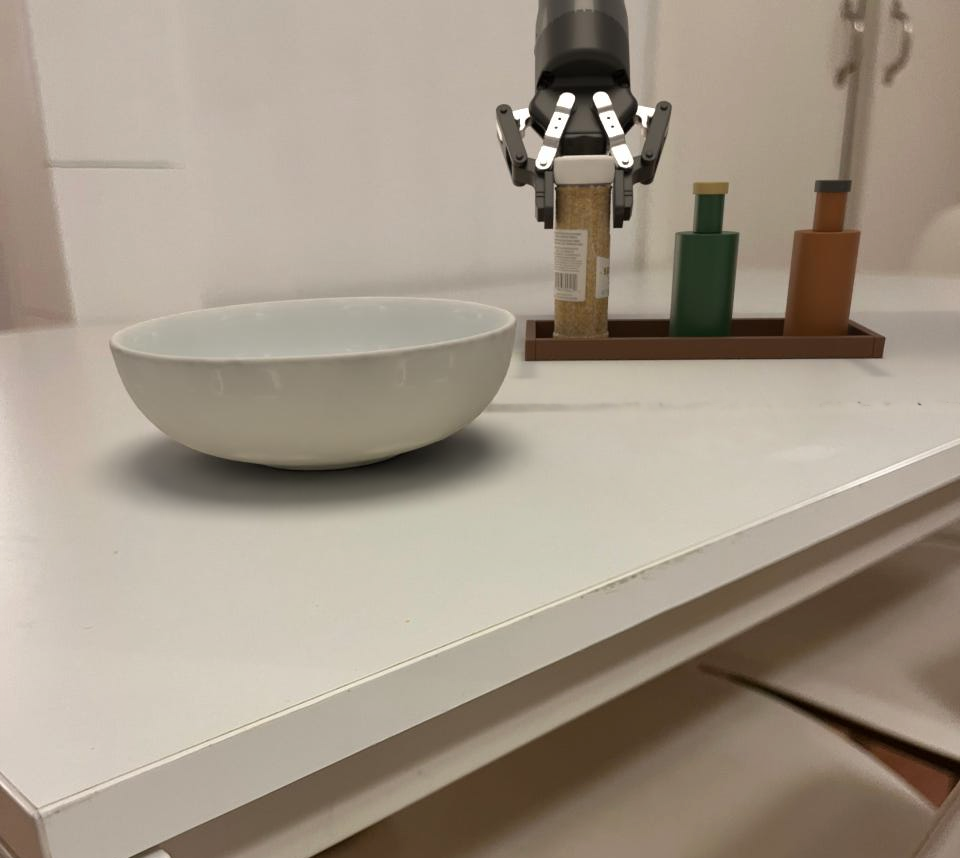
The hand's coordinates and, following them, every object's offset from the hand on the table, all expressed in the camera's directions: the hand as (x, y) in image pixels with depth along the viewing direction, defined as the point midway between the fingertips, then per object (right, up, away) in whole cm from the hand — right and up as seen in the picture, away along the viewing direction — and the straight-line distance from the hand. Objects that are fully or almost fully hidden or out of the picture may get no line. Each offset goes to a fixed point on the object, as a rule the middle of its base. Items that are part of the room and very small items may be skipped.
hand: (584, 220), depth 75 cm
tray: (+9, -8, +5) cm, 14 cm away
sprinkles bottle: (0, -8, +6) cm, 9 cm away
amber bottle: (+19, -8, +5) cm, 21 cm away
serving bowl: (-16, -21, -19) cm, 33 cm away
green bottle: (+10, -8, +5) cm, 14 cm away
